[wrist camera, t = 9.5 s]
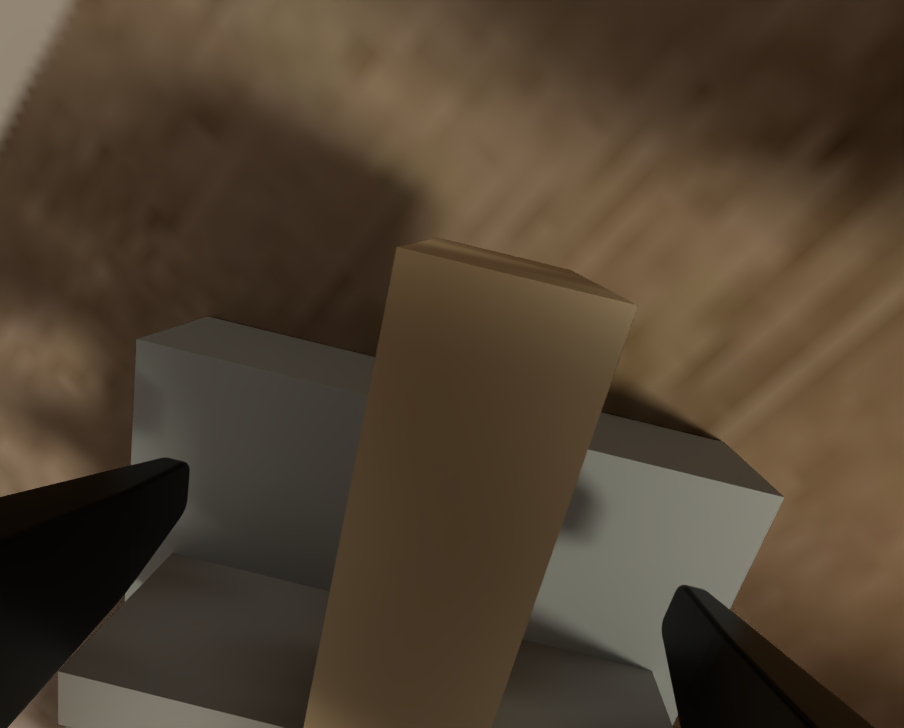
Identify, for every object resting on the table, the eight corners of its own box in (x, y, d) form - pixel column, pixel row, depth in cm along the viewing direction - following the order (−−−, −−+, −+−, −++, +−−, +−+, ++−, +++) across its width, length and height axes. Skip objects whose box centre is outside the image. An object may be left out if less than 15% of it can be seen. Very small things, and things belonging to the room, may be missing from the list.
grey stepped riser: (724, 442, 12) (784, 497, 9) (607, 711, 14) (631, 809, 12) (207, 316, 12) (136, 338, 9) (182, 606, 14) (121, 682, 12)
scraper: (808, 327, 8) (1072, 410, 5) (633, 710, 11) (711, 966, 7) (201, 180, 9) (-33, 141, 5) (169, 595, 11) (1, 789, 7)
